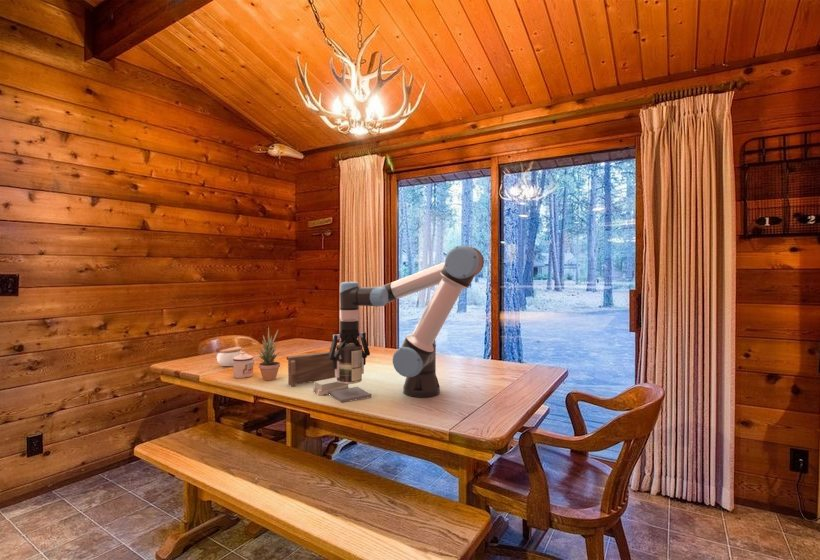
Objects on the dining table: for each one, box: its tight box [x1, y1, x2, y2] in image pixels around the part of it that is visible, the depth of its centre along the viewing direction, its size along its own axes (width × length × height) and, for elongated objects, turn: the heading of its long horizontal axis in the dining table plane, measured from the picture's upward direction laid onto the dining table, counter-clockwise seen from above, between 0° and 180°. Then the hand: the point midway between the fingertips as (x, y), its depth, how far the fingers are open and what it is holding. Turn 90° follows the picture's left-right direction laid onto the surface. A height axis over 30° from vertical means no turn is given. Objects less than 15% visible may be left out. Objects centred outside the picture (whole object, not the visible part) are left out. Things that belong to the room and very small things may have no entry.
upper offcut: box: [313, 377, 350, 391], centre depth 176 cm, size 6×13×2 cm, turn 132°
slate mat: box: [328, 386, 372, 403], centre depth 170 cm, size 13×13×1 cm
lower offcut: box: [312, 385, 349, 396], centre depth 176 cm, size 6×13×2 cm, turn 126°
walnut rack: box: [286, 350, 336, 388], centre depth 191 cm, size 6×25×12 cm, turn 122°
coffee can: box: [336, 343, 363, 385], centre depth 170 cm, size 10×10×14 cm
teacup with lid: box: [232, 351, 255, 379], centre depth 202 cm, size 12×9×12 cm
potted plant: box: [258, 326, 281, 381], centre depth 196 cm, size 10×10×25 cm
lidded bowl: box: [215, 344, 242, 367], centre depth 224 cm, size 13×13×11 cm
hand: (349, 374), depth 170 cm, fingers closed on coffee can, 10 cm apart
